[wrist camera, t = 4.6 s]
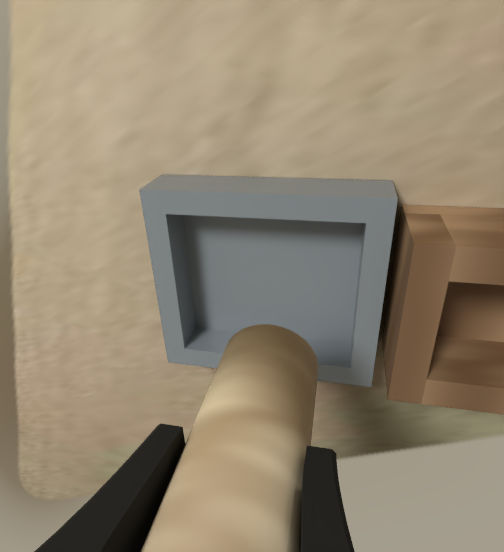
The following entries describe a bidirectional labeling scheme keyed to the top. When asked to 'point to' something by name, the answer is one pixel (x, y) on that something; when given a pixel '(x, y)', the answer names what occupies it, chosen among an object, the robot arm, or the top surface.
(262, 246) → the tray
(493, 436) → the top surface
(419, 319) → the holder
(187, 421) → the top surface
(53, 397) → the top surface
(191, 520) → the dowel
